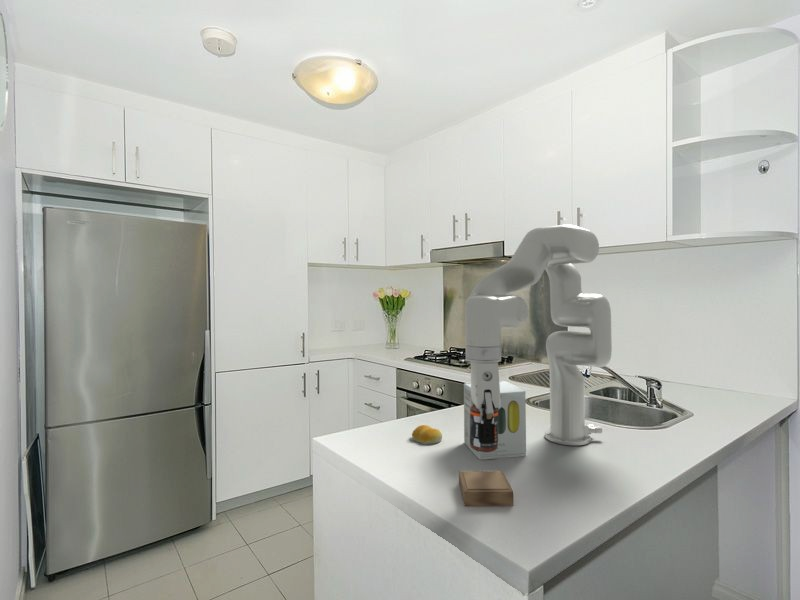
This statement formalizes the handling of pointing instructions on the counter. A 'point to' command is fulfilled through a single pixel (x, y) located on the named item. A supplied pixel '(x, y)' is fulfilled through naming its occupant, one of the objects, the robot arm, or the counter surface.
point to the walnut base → (485, 488)
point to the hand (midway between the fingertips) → (483, 436)
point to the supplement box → (502, 422)
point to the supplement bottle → (475, 431)
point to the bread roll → (426, 435)
